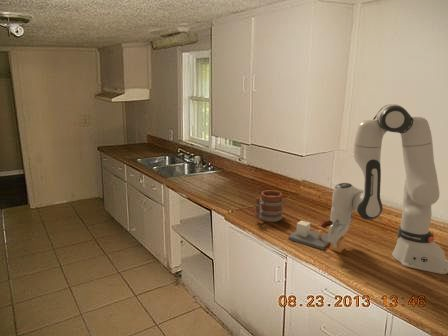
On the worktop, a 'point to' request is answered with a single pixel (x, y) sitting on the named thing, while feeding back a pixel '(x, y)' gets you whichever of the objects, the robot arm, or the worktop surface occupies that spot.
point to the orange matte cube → (340, 245)
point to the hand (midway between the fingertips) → (337, 244)
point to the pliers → (326, 223)
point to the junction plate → (309, 236)
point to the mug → (269, 206)
